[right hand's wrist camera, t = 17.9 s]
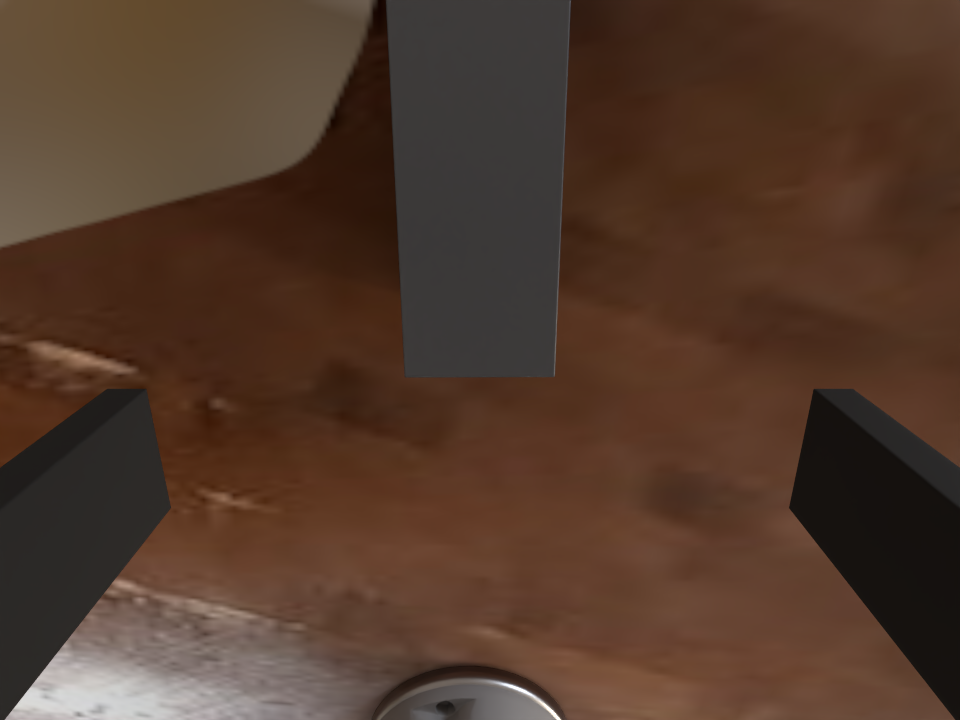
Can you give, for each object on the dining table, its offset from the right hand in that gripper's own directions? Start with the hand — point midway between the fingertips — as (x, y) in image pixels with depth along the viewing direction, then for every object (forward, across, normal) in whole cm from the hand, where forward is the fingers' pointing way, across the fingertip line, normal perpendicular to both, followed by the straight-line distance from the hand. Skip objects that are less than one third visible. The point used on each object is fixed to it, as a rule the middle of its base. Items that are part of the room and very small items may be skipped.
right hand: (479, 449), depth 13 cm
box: (+23, 0, -7) cm, 24 cm away
